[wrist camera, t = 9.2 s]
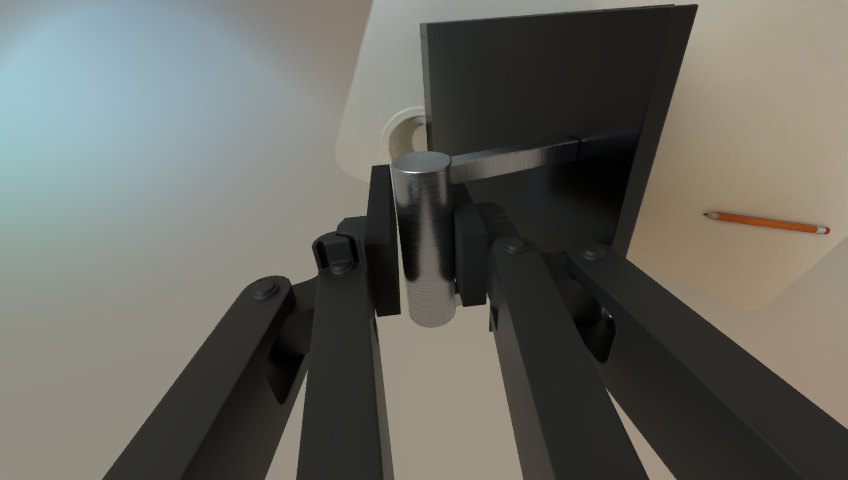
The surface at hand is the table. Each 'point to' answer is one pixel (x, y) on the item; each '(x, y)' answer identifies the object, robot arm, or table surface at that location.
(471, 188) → the box lid
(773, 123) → the table surface
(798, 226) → the pencil
